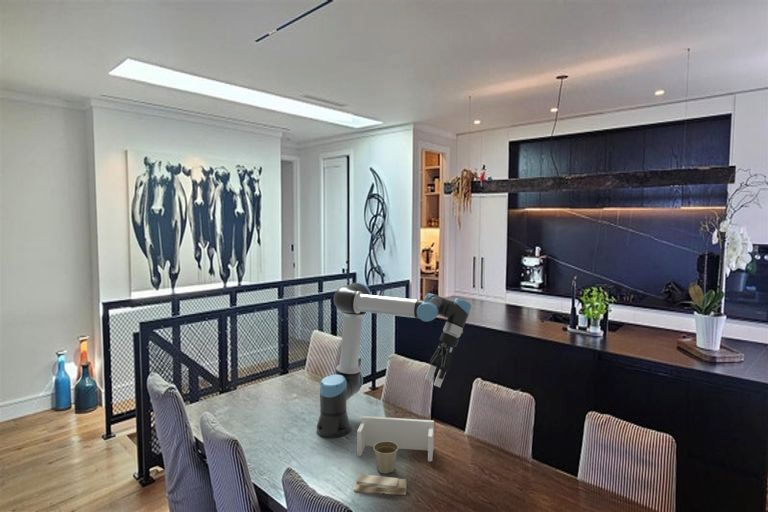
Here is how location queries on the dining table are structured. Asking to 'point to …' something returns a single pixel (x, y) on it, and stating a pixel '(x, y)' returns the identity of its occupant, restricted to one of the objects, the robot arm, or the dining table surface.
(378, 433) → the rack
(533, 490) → the dining table surface
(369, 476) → the offcut stack
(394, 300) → the robot arm
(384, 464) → the flower pot
